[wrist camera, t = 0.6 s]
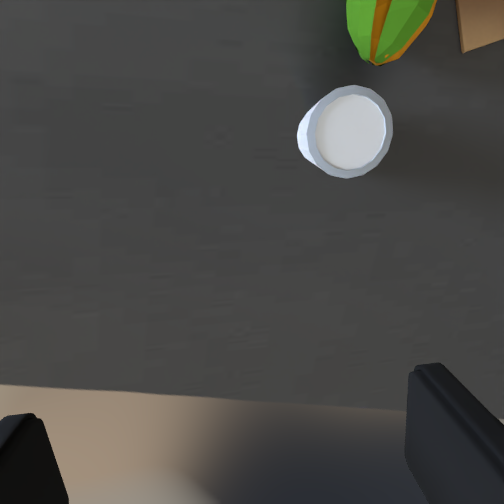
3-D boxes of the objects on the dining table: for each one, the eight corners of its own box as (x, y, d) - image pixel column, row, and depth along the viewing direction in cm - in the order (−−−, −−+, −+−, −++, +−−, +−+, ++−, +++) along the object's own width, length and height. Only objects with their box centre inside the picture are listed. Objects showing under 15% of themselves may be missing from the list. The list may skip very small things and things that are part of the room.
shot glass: (289, 172, 34) (304, 179, 27) (291, 96, 32) (309, 83, 25) (357, 172, 35) (388, 178, 28) (363, 97, 33) (399, 85, 26)
